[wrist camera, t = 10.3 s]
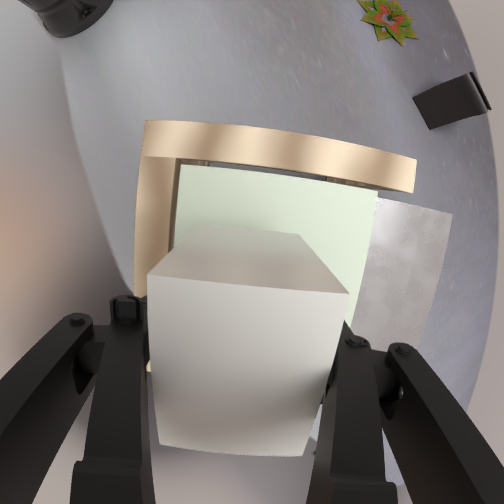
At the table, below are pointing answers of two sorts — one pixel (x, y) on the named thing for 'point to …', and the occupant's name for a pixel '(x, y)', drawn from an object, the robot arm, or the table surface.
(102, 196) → the table surface
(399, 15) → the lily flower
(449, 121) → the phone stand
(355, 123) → the table surface
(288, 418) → the white rectangular block
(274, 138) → the trapdoor frame
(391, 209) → the trapdoor
